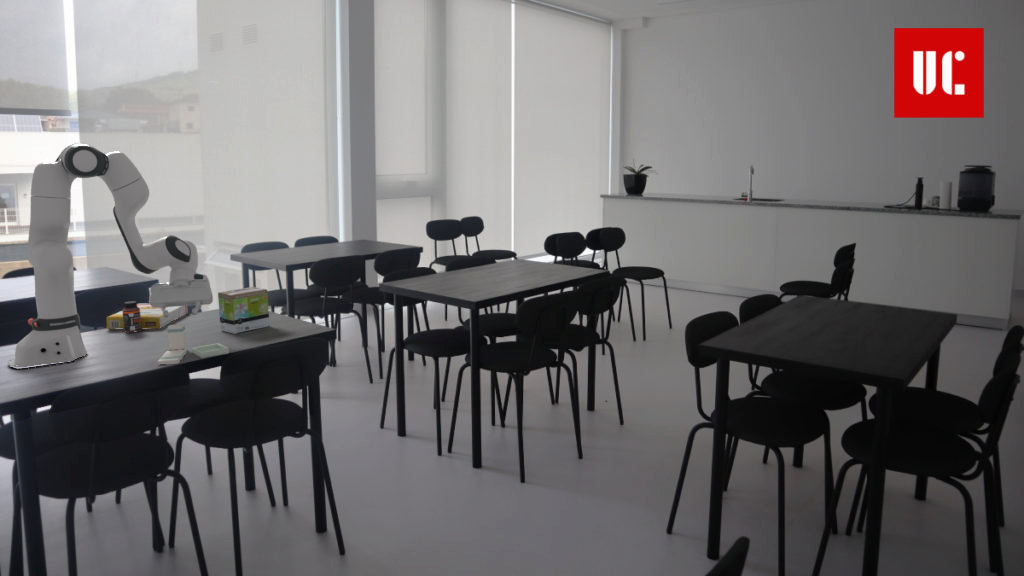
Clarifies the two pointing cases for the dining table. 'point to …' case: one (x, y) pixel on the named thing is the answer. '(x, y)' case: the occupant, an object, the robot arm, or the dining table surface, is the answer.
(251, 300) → the tea box
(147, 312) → the cereal box
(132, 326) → the supplement bottle
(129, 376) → the dining table surface
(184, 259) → the robot arm
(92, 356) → the dining table surface
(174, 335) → the white teal striped box
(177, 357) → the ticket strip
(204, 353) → the tray
